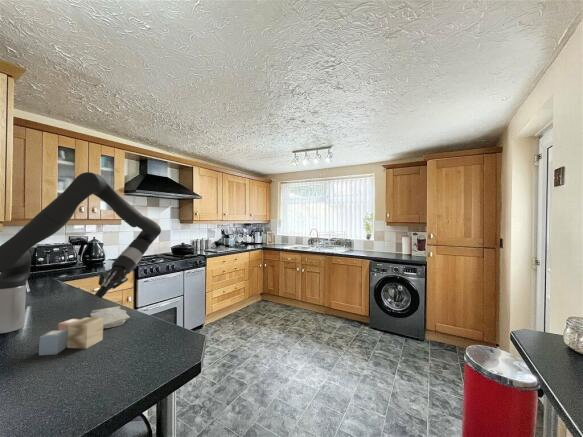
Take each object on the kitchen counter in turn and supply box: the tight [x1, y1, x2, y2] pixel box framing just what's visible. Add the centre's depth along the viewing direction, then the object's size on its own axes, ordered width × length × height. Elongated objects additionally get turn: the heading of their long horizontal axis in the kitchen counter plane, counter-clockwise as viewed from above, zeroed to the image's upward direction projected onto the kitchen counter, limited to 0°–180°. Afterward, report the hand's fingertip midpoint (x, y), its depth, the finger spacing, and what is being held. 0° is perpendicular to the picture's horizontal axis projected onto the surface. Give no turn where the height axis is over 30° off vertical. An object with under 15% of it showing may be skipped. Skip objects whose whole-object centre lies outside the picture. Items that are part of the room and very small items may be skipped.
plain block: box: [66, 316, 104, 350], centre depth 90 cm, size 7×7×8 cm
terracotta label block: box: [57, 318, 81, 340], centre depth 95 cm, size 5×5×6 cm
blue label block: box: [38, 329, 68, 356], centre depth 85 cm, size 5×5×6 cm
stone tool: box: [89, 306, 131, 329], centre depth 113 cm, size 13×4×25 cm
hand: (97, 296), depth 94 cm, fingers closed
